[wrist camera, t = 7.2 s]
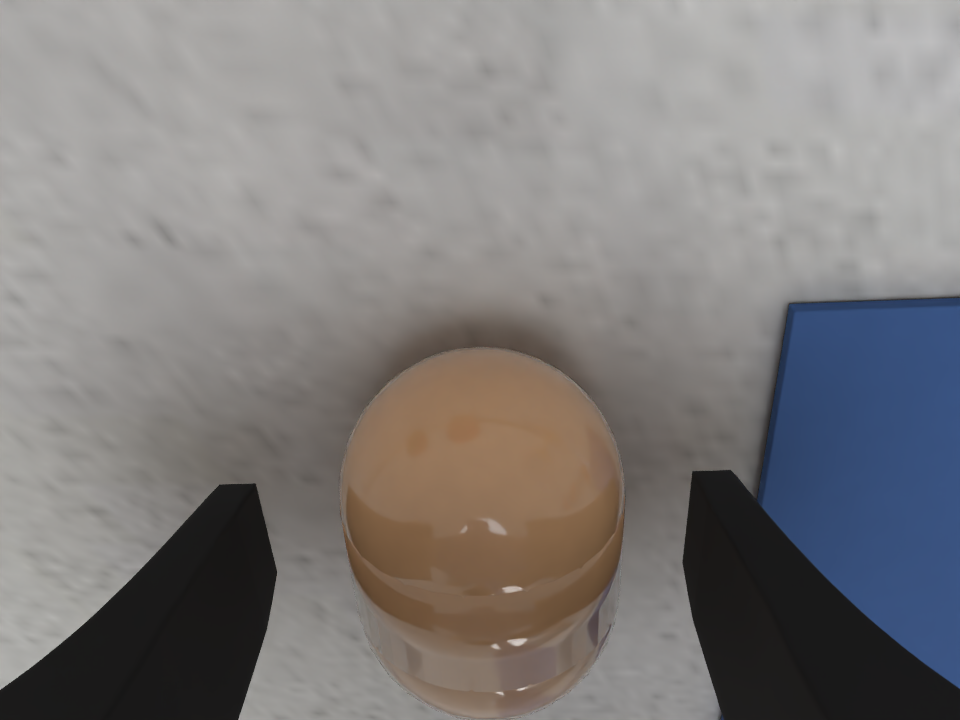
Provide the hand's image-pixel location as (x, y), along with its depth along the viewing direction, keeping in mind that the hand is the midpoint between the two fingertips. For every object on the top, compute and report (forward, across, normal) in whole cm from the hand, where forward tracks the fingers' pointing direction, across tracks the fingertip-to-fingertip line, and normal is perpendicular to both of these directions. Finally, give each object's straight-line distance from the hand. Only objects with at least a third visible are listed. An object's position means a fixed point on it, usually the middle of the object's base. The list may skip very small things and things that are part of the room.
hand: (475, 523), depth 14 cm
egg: (+2, 0, 0) cm, 2 cm away
